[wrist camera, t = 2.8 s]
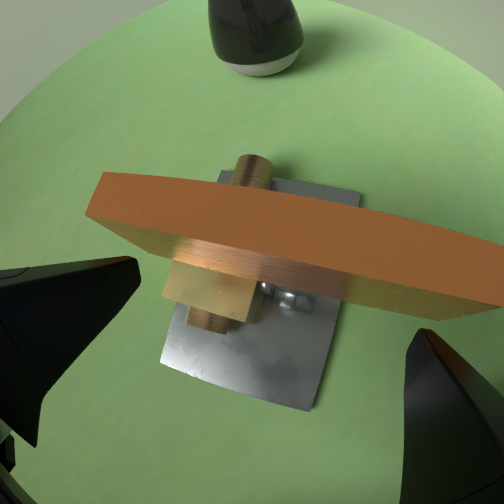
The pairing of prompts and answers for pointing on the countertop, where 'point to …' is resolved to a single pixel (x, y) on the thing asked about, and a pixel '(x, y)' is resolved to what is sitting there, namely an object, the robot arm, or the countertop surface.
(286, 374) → the valve
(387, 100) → the countertop surface
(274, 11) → the pump dispenser
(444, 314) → the lever
